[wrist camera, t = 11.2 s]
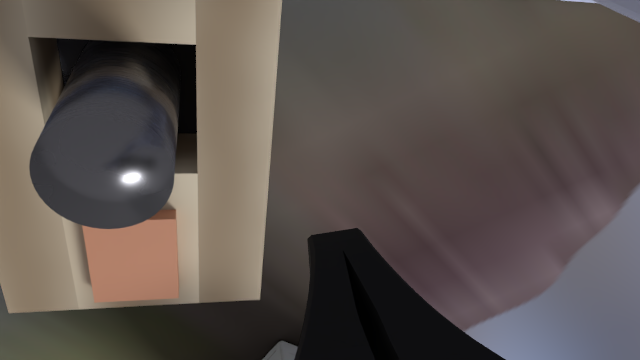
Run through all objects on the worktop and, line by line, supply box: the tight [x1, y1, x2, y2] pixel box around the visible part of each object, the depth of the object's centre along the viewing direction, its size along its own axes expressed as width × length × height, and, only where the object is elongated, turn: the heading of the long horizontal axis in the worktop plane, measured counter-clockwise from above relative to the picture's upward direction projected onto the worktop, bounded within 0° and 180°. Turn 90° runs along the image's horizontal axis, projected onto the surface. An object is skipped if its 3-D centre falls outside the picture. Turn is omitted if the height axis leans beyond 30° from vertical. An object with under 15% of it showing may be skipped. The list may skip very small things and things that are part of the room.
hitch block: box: [0, 0, 282, 313], centre depth 20 cm, size 10×13×3 cm
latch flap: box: [82, 210, 179, 303], centre depth 20 cm, size 3×4×1 cm
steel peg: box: [29, 40, 182, 229], centre depth 17 cm, size 4×4×7 cm
